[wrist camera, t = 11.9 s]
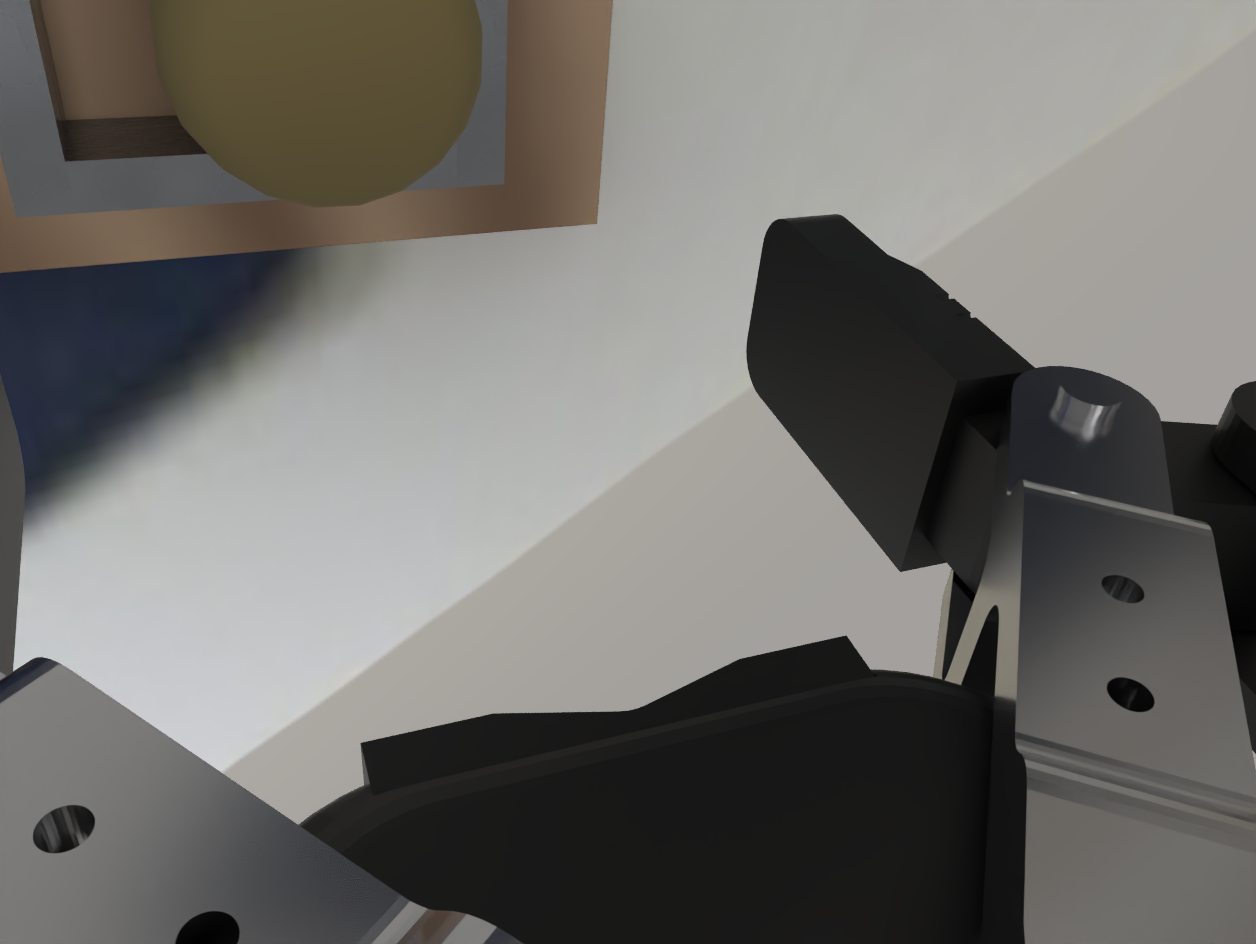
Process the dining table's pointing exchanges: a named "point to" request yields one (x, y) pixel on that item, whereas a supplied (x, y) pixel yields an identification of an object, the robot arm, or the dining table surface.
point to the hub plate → (529, 199)
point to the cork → (321, 89)
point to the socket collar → (177, 136)
